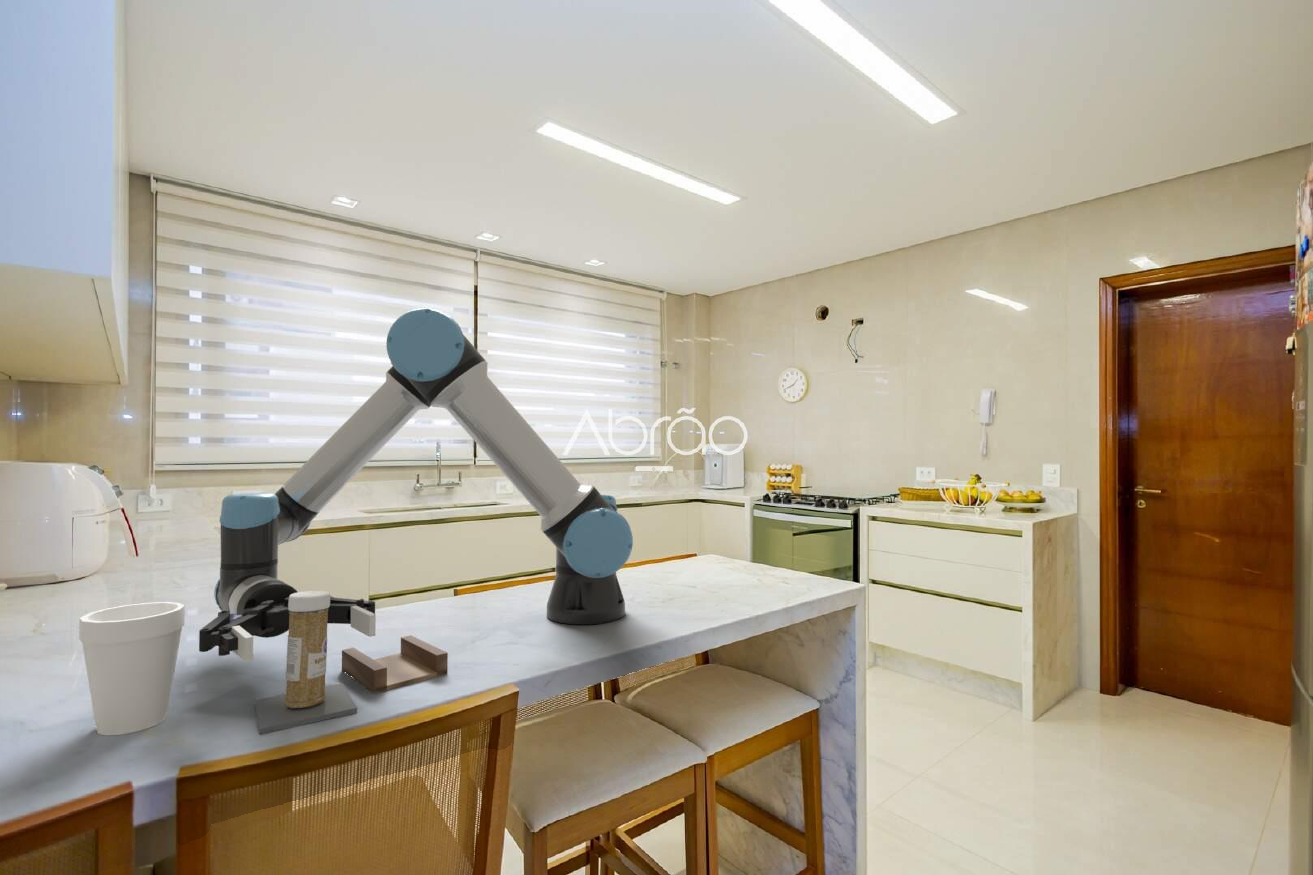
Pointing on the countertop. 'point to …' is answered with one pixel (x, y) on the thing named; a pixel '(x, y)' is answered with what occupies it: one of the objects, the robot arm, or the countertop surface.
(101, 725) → the foam cup
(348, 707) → the slate coaster
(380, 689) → the walnut cradle
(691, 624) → the countertop surface
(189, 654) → the countertop surface
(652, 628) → the countertop surface
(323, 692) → the spice jar
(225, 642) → the robot arm
